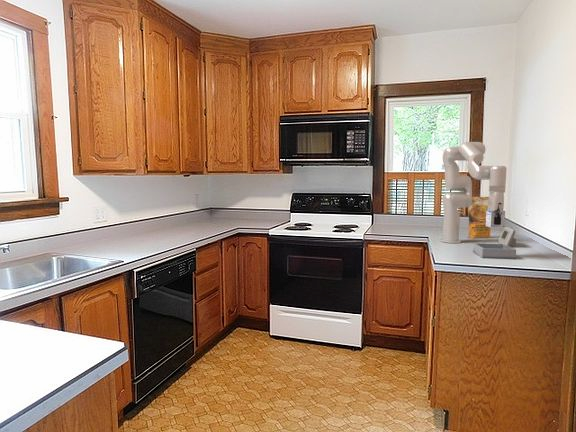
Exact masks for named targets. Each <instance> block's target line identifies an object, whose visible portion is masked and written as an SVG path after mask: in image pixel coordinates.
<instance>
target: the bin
mask: <svg viewBox="0 0 576 432" xmlns="http://www.w3.org/2000/svg"><path fill="white" fill-rule="evenodd" d="M472 253H473V254H474V255H477V256H478V257H480V258H482V259H498V260H500V259H502V260H517V249H516V248H515V247H510V246H507V245H505V244H500V243H486V242H485V243H484V242H483V243H482V242H481V243H479V242H476V243H475V242H473V243H472Z"/></svg>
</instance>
